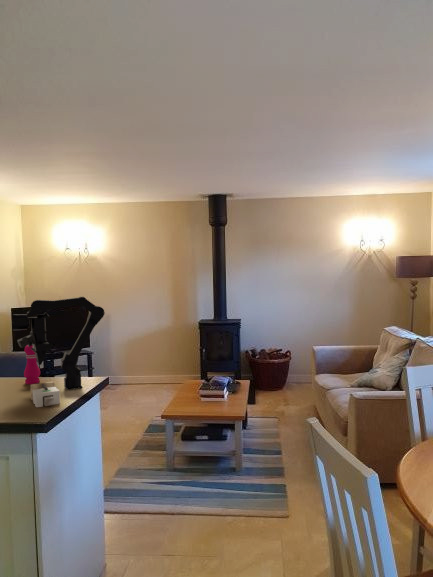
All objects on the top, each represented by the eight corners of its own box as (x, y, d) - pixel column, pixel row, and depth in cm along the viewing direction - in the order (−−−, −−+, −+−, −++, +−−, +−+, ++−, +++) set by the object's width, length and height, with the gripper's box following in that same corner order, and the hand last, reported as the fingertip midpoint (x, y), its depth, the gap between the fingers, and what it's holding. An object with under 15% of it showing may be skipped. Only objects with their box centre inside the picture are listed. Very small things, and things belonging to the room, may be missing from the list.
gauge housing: (55, 398, 172) (55, 386, 172) (59, 403, 165) (59, 390, 165) (33, 402, 168) (32, 389, 167) (36, 407, 161) (35, 394, 161)
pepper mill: (44, 381, 203) (42, 340, 203) (32, 385, 196) (31, 342, 196) (32, 380, 205) (30, 339, 205) (20, 384, 199) (19, 341, 198)
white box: (54, 395, 176) (53, 381, 176) (62, 404, 163) (61, 389, 163) (31, 399, 171) (30, 384, 171) (37, 408, 158) (36, 392, 158)
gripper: (14, 328, 186) (16, 363, 187) (22, 332, 171) (23, 370, 171) (41, 326, 193) (42, 360, 193) (51, 330, 177) (52, 366, 178)
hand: (39, 364), depth 184 cm, fingers closed
